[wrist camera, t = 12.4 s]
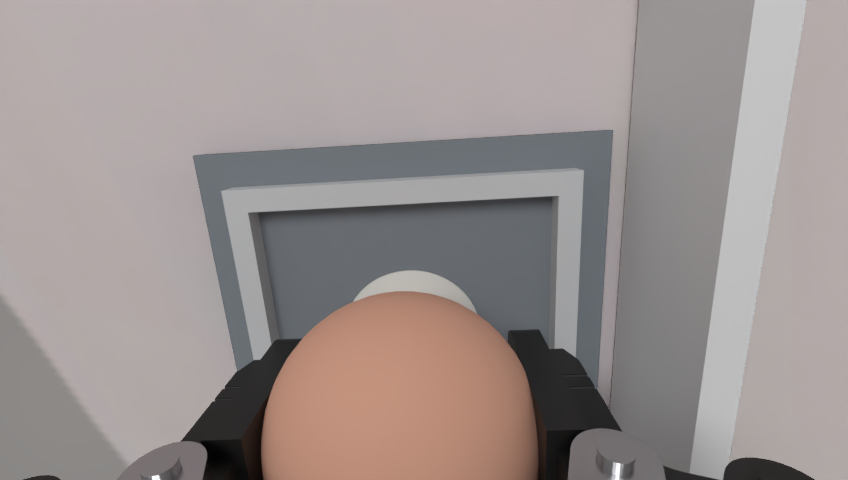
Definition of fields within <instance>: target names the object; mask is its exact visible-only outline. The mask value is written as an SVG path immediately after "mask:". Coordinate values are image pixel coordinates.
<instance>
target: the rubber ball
mask: <svg viewBox="0 0 848 480" xmlns="http://www.w3.org/2000/svg"><path fill="white" fill-rule="evenodd" d="M261 463H262V472H263V480H538V467H539V462H538V439H537V428H536V421H535V413H534V406H533V401H532V396H531V391H530V386H529V382H528V379H527V376H526V372H525V370H524V368H523V366H522V364H521V362H520V360H519V358H518V357H517V355H516V353H515V352H514V350H513V349H512V348H511V347H510V345H509V344H508V343H507V342H506V340H505V339H504V338H503V337H502V335H501V334H500V333H499V332H498V331H497V330H496V329H495V328H494V327H493V326H492V325H491V324H490V323H488V322H487V321H486V320H484V319H483V318H482V317H480V316H479V315H478V314H476V313H475V312H473V311H472V310H470V309H468V308H466V307H464V306H463V305H461V304H459V303H457V302H454V301H452V300H449V299H447V298H444V297H441V296H437V295H433V294H429V293H422V292H415V291H395V292H386V293H380V294H376V295H372V296H368V297H365V298H362V299H360V300H357V301H354V302H352V303H349V304H347V305H345V306H343V307H342V308H340V309H338V310H336V311H334V312H333V313H331V314H330V315H329V316H327V317H326V318H325V319H323V320H322V321H321V322H319V323H318V324H317V325H316V326H314V327H313V328H312V329H311V330H310V331H309V332H308V333H307V334H306V335H305V336H304V337H303V338H302V340H301V341H300V342H299V344H298V345H297V346H296V347H295V349H294V350H293V351H292V353H291V354H290V355H289V356H288V358H287V360H286V361H285V363H284V365H283V367H282V369H281V370H280V372H279V374H278V376H277V378H276V380H275V382H274V385H273V388H272V390H271V393H270V396H269V399H268V403H267V406H266V410H265V415H264V421H263V428H262V436H261Z"/></svg>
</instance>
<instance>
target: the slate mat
mask: <svg viewBox="0 0 848 480" xmlns="http://www.w3.org/2000/svg"><path fill="white" fill-rule="evenodd" d="M612 139H613V130H601V131H584V132H568V133H551V134H535V135H518V136H502V137H485V138H469V139H453V140H436V141H420V142H403V143H387V144H370V145H354V146H337V147H321V148H304V149H288V150H271V151H255V152H238V153H222V154H205V155H195V156H193V159H194V164H195V169H196V174H197V179H198V183H199V188H200V193H201V198H202V203H203V208H204V212H205V217H206V222H207V227H208V232H209V237H210V241H211V246H212V251H213V256H214V261H215V266H216V270H217V275H218V280H219V285H220V290H221V295H222V299H223V304H224V309H225V314H226V319H227V324H228V329H229V333H230V338H231V343H232V348H233V353H234V358H235V362H236V367H237V371H239V370H240V369H242V368H243V367H245V366H246V365H248V364H249V363H250V362H252V361H253V360H261V358H262V357H263V356H264V354H265V353H266V351H267V350H268V349H269V347H270V346H271V345H272V343H273V342H274V341H275V340H277V339H300V338H303V337H304V336H305V335H306V334H307V333H308V332H309V331H310V330H311V329H312V328H313V327H314V326H316V325H317V324H318V323H319V322H321V321H322V320H323V319H325V318H326V317H327V316H329V315H330V314H331V313H333V312H334V311H336V310H338V309H340V308H342V307H343V306H345V305H347V304H349V303H352V302H354V301H357V300H360V299H362V298H365V297H368V296H372V295H376V294H380V293H386V292H395V291H415V292H422V293H429V294H433V295H437V296H441V297H444V298H447V299H449V300H452V301H454V302H457V303H459V304H461V305H463V306H464V307H466V308H468V309H470V310H472V311H473V312H475V313H476V314H478V315H479V316H480V317H482V318H483V319H484V320H486V321H487V322H488V323H490V324H491V325H492V326H493V327H494V328H495V329H496V330H497V331H498V332H499V333H500V334H501V335H502V337H503V338H504V339H505V340H506V342H507V343H508V332H509V330H531V329H539V330H540V332H541V334H542V336H543V338H544V340H545V342H546V344H547V346H548V348H549V349H561V348H563V349H564V350H566V351H567V352H569V353H570V354H571V355H573V356H574V357H576V358H577V359H578V360H579V361H580V363H581V364H582V366H583V368H584V369H585V371H586V373H587V376H588V377H590V379H591V381H592V382H593V384H594V386H595V389H597V386H598V369H599V353H600V336H601V320H602V303H603V287H604V271H605V254H606V238H607V221H608V205H609V189H610V172H611V156H612Z"/></svg>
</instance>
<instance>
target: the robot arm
mask: <svg viewBox="0 0 848 480" xmlns="http://www.w3.org/2000/svg"><path fill="white" fill-rule="evenodd" d="M301 340H302V338H300V339H277V340H275V341H274V342H273V343H272V345H271V346H270V347H269V349H268V350H267V351H266V353H265V354H264V356H263V357H262V358H261V360H253V361H252V362H250V363H249V364H248V365H246V366H245V367H243V368H242V369H240V370H239V371H237V372H236V373H235V375H234V376H233V377H232V378H231V380H230V381H229V382H228V383H227V385H226V386H225V389H222V391H221V392H220V393H219V394H218V396H217V397H216V398H215V402H212V403H211V404H210V406H209V407H208V408H207V409H206V411H205V412H204V413H203V414H202V416H201V417H200V418H199V419H198V421H197V422H196V423H195V424H194V426H193V427H192V428H191V429H190V431H189V432H188V433H187V434H186V436H185V437H184V438H183V439H182V441H181V442H176V443H171V444H168V445H165V446H162V447H159V448H157V449H155V450H153V451H151V452H149V453H147V454H145V455H144V456H142V457H140V458H139V459H138V460H136V461H135V462H134V463H132V464H131V465H130V466H129V467H128V468H127V469H126V470H125V471H124V472H123V473H122V474H121V475H120V477H119V478H118V479H117V480H263V472H262V463H261V436H262V428H263V421H264V415H265V410H266V406H267V403H268V399H269V396H270V393H271V390H272V388H273V385H274V382H275V380H276V378H277V376H278V374H279V372H280V370H281V369H282V367H283V365H284V363H285V361H286V360H287V358H288V356H289V355H290V354H291V353H292V351H293V350H294V349H295V347H296V346H297V345H298V344H299V342H300V341H301ZM508 344H509V345H510V347H511V348H512V349H513V350H514V352H515V353H516V355H517V357H518V358H519V360H520V362H521V364H522V366H523V368H524V370H525V372H526V376H527V379H528V382H529V386H530V391H531V396H532V401H533V406H534V413H535V421H536V428H537V439H538V462H539V467H538V480H718V479H714V478H709V477H705V476H700V475H695V474H691V473H686V472H682V471H678V470H674V469H672V468H669V467H666V466H664V465H662V462H661V461H660V459H659V457H658V456H657V454H656V453H655V452H654V451H653V450H652V449H651V448H650V447H649V446H648V445H646V444H645V443H644V442H642V441H641V440H639V439H637V438H636V437H633V436H631V435H629V434H627V433H624V432H622V430H621V428H620V427H619V425H618V423H617V422H616V420H615V418H614V417H613V415H612V414H611V412H610V410H609V409H608V407H607V405H606V404H605V402H604V400H603V399H602V397H601V395H600V394H599V392H598V391H597V389H595V386H594V384H593V382H592V381H591V379H590V377H588V376H587V373H586V371H585V369H584V368H583V366H582V364H581V363H580V361H579V360H578V359H577V358H576V357H574V356H573V355H571V354H570V353H569V352H567V351H566V350H564V349H563V348H561V349H549V348H548V346H547V344H546V342H545V340H544V338H543V336H542V334H541V332H540V330H539V329H531V330H509V332H508ZM24 480H60V479H59V478H57V477H55V476H49V475H46V476H36V477H31V478H28V479H24ZM723 480H814V479H813V478H811V477H809V476H808V475H806V474H804V473H802V472H800V471H798V470H796V469H794V468H792V467H789V466H786V465H784V464H781V463H778V462H774V461H771V460H766V459H760V458H740V459H737V460H734V461H732V462H730V463H729V464H728V465H727V466H726V468H725V471H724V476H723Z"/></svg>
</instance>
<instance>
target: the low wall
mask: <svg viewBox="0 0 848 480" xmlns="http://www.w3.org/2000/svg"><path fill="white" fill-rule="evenodd" d="M806 3H807V0H639V8H638V22H637V36H636V50H635V64H634V78H633V92H632V106H631V120H630V134H629V148H628V162H627V176H626V190H625V204H624V218H623V232H622V246H621V260H620V274H619V288H618V302H617V316H616V330H615V344H614V358H613V372H612V386H611V400H610V412H611V414H612V415H613V417H614V418H615V420H616V422H617V423H618V425H619V427H620V428H621V430H622V432H624V433H627V434H629V435H631V436H633V437H636V438H637V439H639V440H641V441H642V442H644V443H645V444H646V445H648V446H649V447H650V448H651V449H652V450H653V451H654V452H655V453H656V454H657V456H658V457H659V459H660V461H661V462H662V465H664V466H666V467H669V468H672V469H674V470H678V471H682V472H686V473H691V474H695V475H700V476H705V477H709V478H714V479H718V480H723V476H724V471H725V468H726V466H727V465H728V464H729V458H730V452H731V446H732V440H733V435H734V429H735V423H736V417H737V411H738V405H739V399H740V393H741V387H742V381H743V375H744V369H745V364H746V358H747V352H748V346H749V340H750V334H751V328H752V322H753V316H754V310H755V304H756V298H757V293H758V287H759V281H760V275H761V269H762V263H763V257H764V251H765V245H766V239H767V233H768V227H769V222H770V216H771V210H772V204H773V198H774V192H775V186H776V180H777V174H778V168H779V162H780V156H781V151H782V145H783V139H784V133H785V127H786V121H787V115H788V109H789V103H790V97H791V91H792V85H793V80H794V74H795V68H796V62H797V56H798V50H799V44H800V38H801V32H802V26H803V20H804V14H805V9H806Z"/></svg>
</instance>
